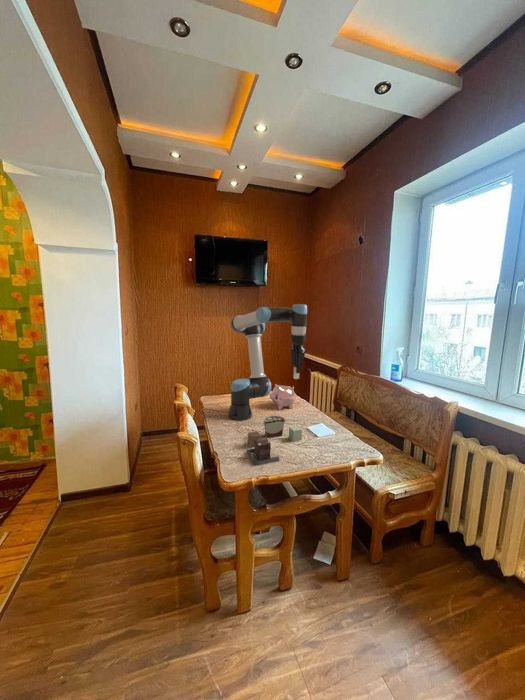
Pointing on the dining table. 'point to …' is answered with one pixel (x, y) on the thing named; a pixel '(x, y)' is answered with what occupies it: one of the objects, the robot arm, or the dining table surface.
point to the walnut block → (253, 437)
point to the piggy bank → (283, 396)
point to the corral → (258, 462)
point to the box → (262, 448)
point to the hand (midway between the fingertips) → (296, 378)
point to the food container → (273, 426)
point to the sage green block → (295, 433)
